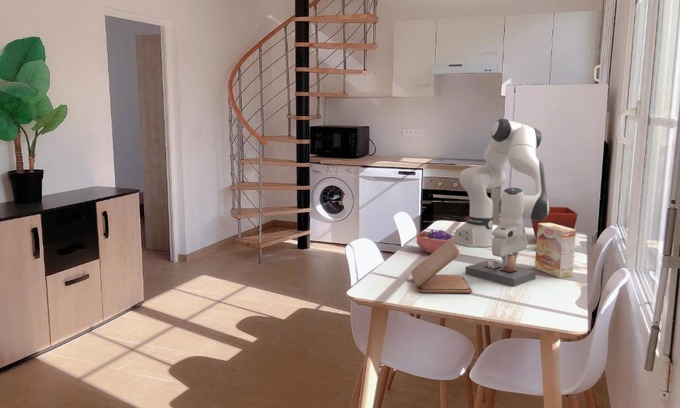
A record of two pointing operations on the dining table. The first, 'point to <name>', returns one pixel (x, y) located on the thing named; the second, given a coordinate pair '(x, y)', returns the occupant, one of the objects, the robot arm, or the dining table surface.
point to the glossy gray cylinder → (493, 264)
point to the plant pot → (558, 218)
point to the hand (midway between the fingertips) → (509, 263)
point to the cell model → (433, 240)
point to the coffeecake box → (555, 249)
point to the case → (432, 265)
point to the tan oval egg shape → (510, 263)
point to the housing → (501, 274)
